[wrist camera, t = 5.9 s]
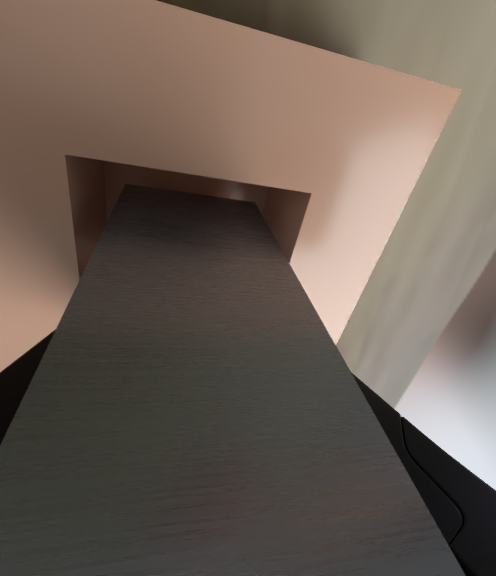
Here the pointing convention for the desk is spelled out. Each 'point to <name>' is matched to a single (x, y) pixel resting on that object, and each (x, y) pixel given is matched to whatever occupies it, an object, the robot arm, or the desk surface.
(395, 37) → the desk surface
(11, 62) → the well
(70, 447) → the grey rectangular block
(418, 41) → the desk surface
